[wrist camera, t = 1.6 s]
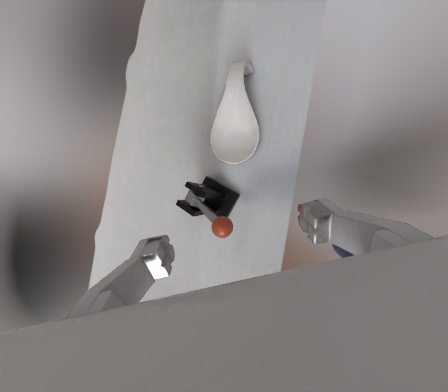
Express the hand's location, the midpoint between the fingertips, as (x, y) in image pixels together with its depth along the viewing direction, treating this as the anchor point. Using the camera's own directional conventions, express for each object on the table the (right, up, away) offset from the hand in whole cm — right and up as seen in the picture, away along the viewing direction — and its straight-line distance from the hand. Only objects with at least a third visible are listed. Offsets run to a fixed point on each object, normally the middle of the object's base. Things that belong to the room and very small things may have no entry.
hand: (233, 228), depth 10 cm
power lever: (-2, -1, +19) cm, 19 cm away
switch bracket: (-3, +1, +32) cm, 32 cm away
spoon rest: (+3, +21, +30) cm, 37 cm away
